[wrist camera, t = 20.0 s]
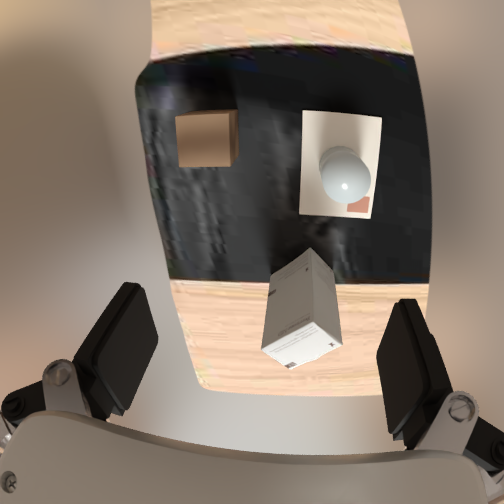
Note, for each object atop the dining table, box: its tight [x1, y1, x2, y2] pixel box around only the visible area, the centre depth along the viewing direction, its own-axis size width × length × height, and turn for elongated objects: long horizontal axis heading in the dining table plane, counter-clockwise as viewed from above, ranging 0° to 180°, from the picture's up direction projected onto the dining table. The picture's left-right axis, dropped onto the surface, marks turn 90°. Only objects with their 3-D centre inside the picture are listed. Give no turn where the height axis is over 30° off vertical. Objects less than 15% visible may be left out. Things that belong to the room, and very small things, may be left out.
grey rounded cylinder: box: [319, 146, 371, 204], centre depth 34 cm, size 6×6×6 cm
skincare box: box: [261, 248, 343, 369], centre depth 40 cm, size 8×6×15 cm
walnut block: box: [175, 109, 239, 167], centre depth 34 cm, size 6×6×6 cm
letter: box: [299, 110, 382, 219], centre depth 37 cm, size 14×10×1 cm
